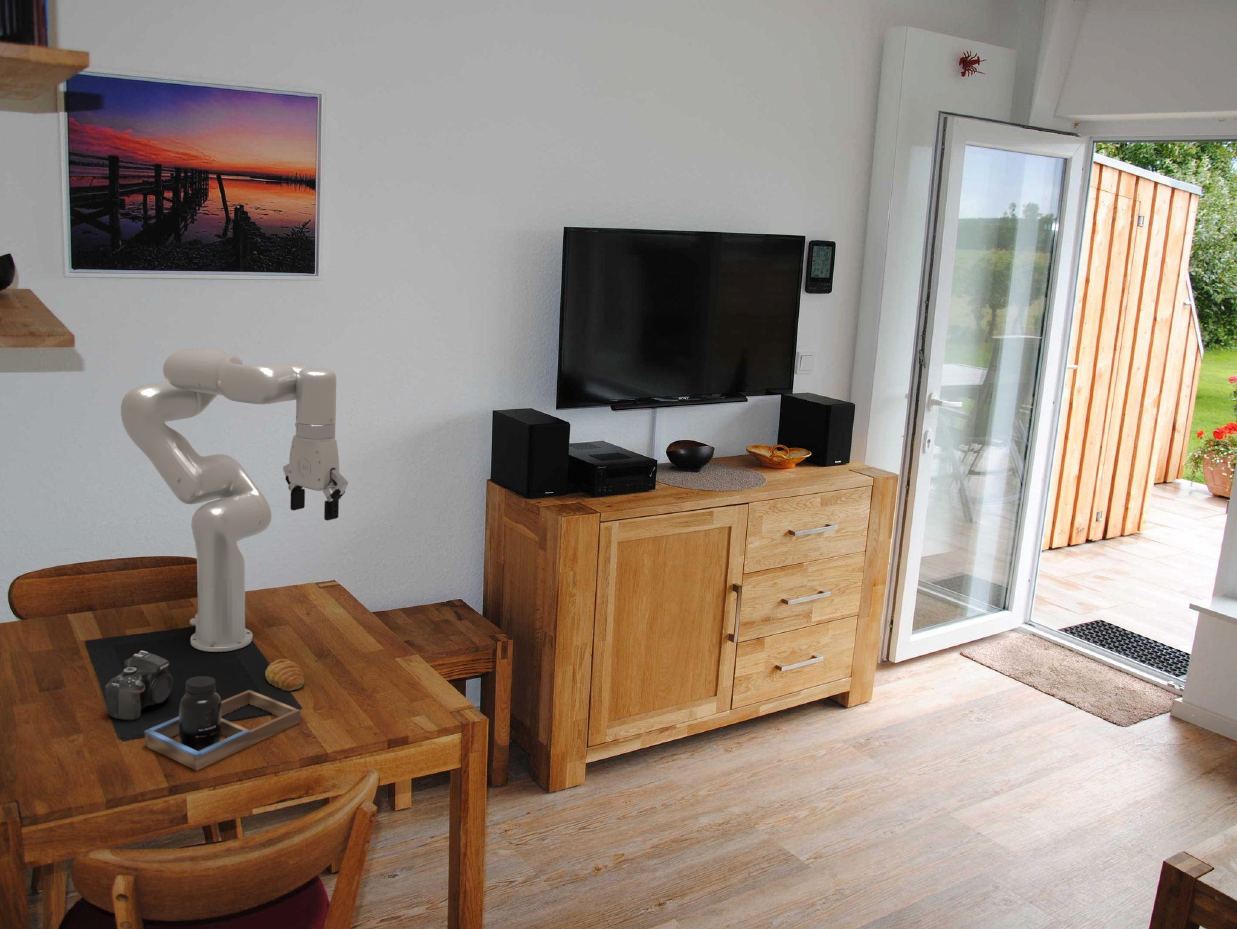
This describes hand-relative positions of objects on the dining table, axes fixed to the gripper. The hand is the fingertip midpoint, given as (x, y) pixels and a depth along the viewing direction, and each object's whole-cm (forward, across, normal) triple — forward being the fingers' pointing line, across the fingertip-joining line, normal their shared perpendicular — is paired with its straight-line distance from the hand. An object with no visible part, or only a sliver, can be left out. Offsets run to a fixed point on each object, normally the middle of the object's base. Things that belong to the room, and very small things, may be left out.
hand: (314, 514), depth 210 cm
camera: (+33, -10, -32) cm, 47 cm away
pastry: (+34, +2, -8) cm, 34 cm away
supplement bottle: (+33, +11, -35) cm, 49 cm away
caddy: (+33, +11, -30) cm, 46 cm away
